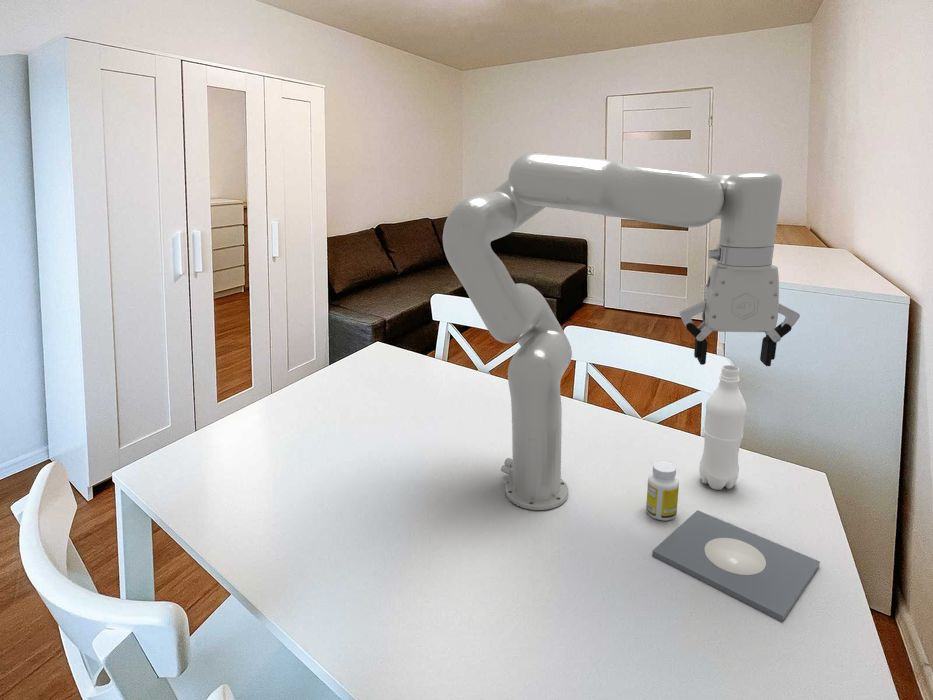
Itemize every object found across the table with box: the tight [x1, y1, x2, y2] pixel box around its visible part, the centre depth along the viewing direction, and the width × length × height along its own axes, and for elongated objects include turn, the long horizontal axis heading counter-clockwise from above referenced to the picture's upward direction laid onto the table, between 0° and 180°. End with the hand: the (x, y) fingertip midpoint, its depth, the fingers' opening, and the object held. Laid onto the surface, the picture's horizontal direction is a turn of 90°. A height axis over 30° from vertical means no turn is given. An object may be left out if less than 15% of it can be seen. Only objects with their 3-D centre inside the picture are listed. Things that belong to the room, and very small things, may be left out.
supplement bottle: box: [645, 460, 680, 521], centre depth 101 cm, size 5×5×10 cm
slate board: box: [651, 509, 821, 623], centre depth 89 cm, size 20×16×1 cm
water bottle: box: [698, 364, 747, 491], centre depth 107 cm, size 7×7×25 cm
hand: (732, 362), depth 89 cm, fingers open, 9 cm apart
